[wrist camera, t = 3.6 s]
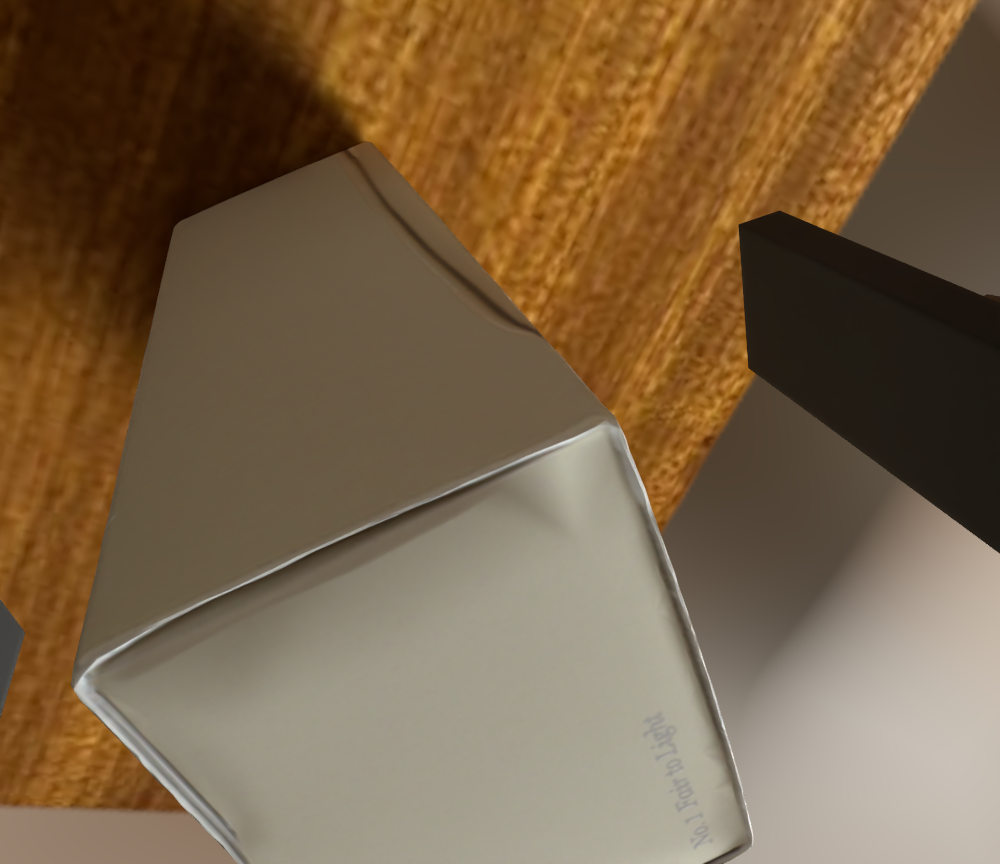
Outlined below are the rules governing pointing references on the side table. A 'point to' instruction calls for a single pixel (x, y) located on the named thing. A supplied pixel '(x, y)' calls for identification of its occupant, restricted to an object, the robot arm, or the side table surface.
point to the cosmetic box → (391, 561)
